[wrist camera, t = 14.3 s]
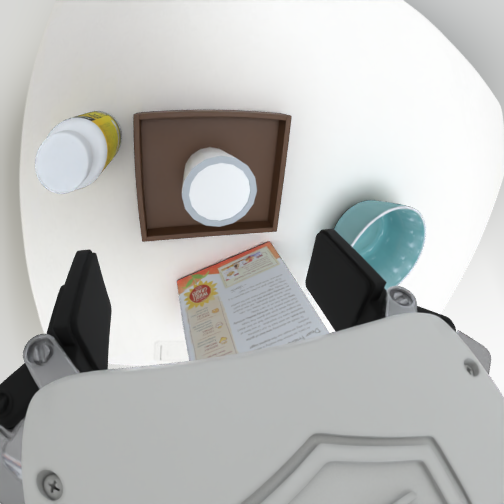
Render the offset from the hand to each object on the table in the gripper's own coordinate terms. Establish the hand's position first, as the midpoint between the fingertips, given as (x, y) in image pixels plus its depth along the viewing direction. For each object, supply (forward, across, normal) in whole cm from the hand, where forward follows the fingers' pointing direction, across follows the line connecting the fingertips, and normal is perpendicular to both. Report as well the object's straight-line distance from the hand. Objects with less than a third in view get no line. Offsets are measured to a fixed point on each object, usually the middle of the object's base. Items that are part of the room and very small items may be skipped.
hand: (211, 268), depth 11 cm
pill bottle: (+22, +9, -2) cm, 24 cm away
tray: (+21, -3, +2) cm, 22 cm away
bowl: (+21, -26, +12) cm, 36 cm away
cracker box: (+21, -6, +17) cm, 28 cm away
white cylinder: (+21, -3, +2) cm, 21 cm away
